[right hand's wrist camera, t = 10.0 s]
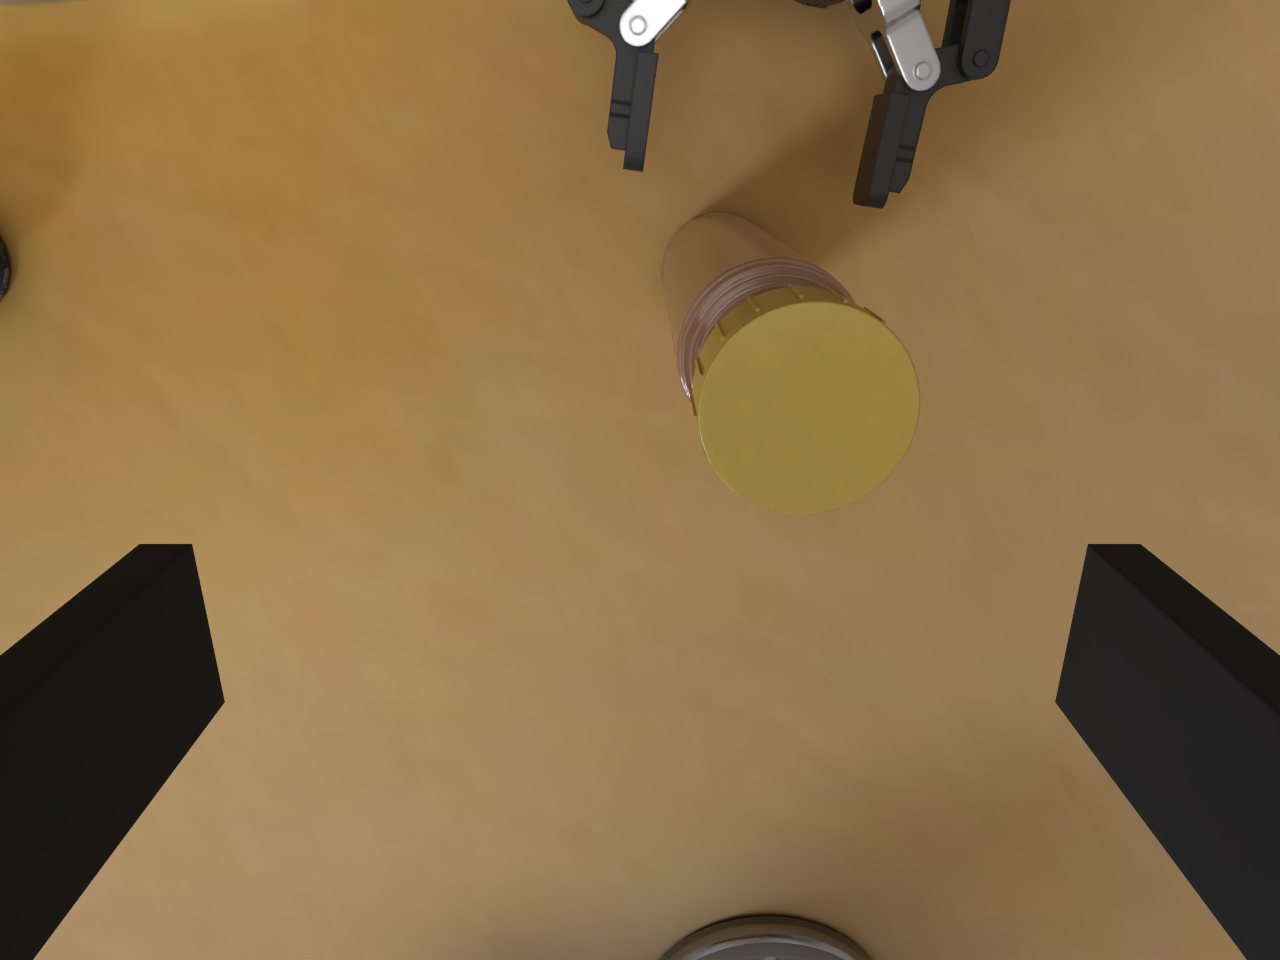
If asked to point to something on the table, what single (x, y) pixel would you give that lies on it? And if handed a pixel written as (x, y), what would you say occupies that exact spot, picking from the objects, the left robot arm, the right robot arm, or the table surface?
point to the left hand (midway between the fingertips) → (751, 188)
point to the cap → (804, 400)
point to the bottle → (725, 278)
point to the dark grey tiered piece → (3, 270)
